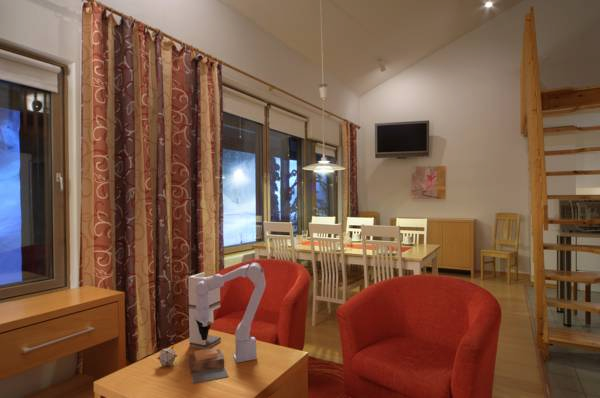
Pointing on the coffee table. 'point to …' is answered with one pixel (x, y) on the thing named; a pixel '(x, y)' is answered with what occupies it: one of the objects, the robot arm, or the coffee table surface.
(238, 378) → the coffee table surface
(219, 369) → the mat
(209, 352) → the tan rectangular brick
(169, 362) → the grey spiky polyhedron
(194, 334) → the tall white column
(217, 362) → the brown flat block
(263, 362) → the coffee table surface
